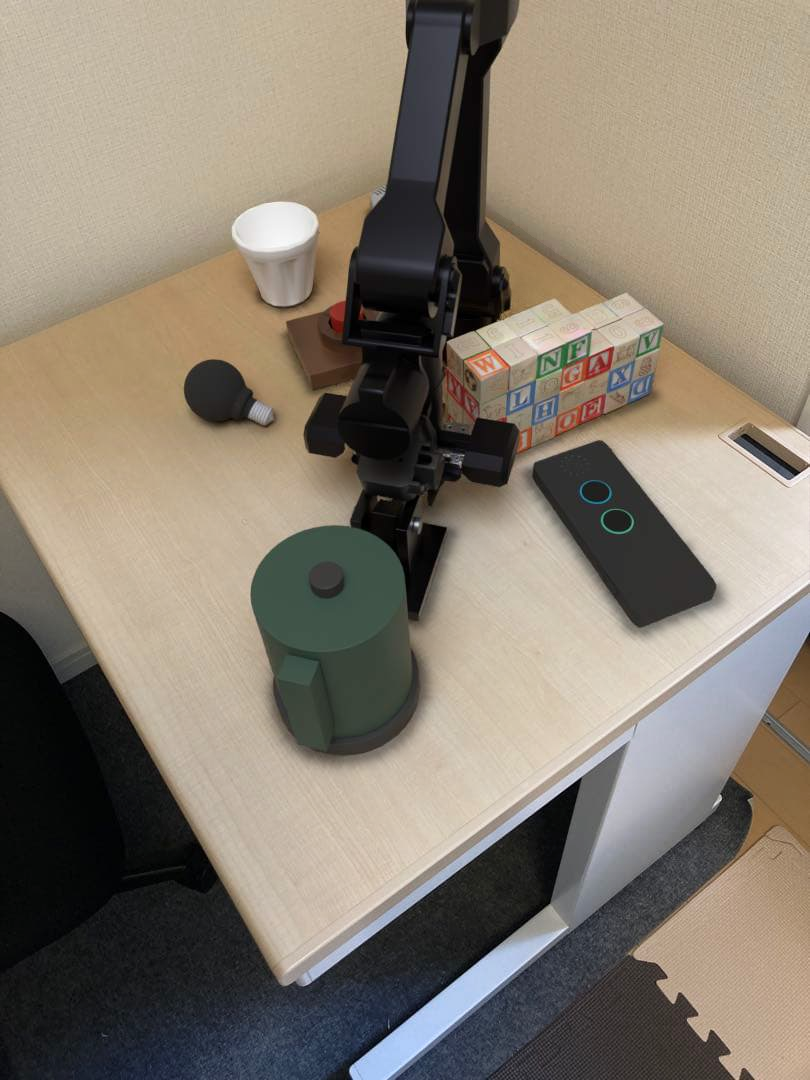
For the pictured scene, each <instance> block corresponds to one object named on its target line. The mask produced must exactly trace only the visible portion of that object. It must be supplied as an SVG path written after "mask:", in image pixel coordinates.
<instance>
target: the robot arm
mask: <svg viewBox="0 0 810 1080" xmlns="http://www.w3.org/2000/svg"><path fill="white" fill-rule="evenodd" d="M520 1H521V0H405V30H404V32H405V34H404V35H405V44H406V49H407V55H406V62H405V66H404V67H405V69H404V74H403V81H402V86H401V93H400V98H399V99H400V100H399V107H398V112H397V119H396V124H395V131H394V136H393V137H394V138H393V144H392V151H391V155H390V156H391V157H390V163H389V169H388V175H387V181H386V184H387V185H386V184H385V185H386V190H385V194H384V195H383V197H382V198H381V199H380V200H379V201H378V203H377V204H376V205H375V206H374V207H373V208H372V210H371V209H370V211H369V212H368V213H367V214H366V215H365V216H364V219H363V223H362V228H361V233H360V236H359V241H358V245H357V246H355V247H354V248H353V249H352V252H351V255H350V259H349V265H348V274H347V275H348V276H347V283H346V284H347V285H346V294H345V301H346V304H345V314H344V324H343V335H342V346H348V347H356V348H361V350H362V363H361V365H360V368H359V370H358V372H357V375H356V377H355V379H353V382H352V384H351V386H350V389H349V390H348V393H347V395H344V394H338V393H331V392H324V393H323V394H321V395H320V396H319V397H318V399H317V401H316V403H315V405H314V407H313V409H312V411H311V413H310V415H309V416H308V419H307V421H306V422H305V425H304V427H303V433H302V434H303V435H302V436H303V442H304V447H305V450H306V451H307V453H308V454H311V455H318V456H322V457H329V458H334V459H337V458H338V457H340V456H341V455H343V454H344V453H345V450H346V446H347V447H348V448H349V449H350V450H352V451H353V453H352V455H351V456H350V457H351V458H350V461H351V463H352V464H353V465H355V466H357V467H356V475H357V477H358V480H359V482H360V484H361V486H362V490H363V489H364V491H365V492H366V493H367V494H369V495H372V496H378V497H382V498H386V499H391V500H392V499H397V500H399V501H404V502H407V501H411V500H413V499H414V498H415V497H416V495H421V497H425V495H426V505H427V506H426V507H428V508H432V507H433V505H434V503H435V500H436V499H437V495H438V494H439V492H440V490H441V488H442V486H443V485H444V484H445V483H446V482H448V483H457V482H459V481H460V480H461V478H462V476H463V477H465V478H466V479H467V480H468V481H469V482H470V483H473V484H479V485H484V486H489V487H496V488H502V487H504V486H507V485H508V483H509V481H510V476H511V474H512V469H513V466H514V463H515V460H516V456H517V454H518V453H517V450H518V446H519V439H520V430H519V429H518V427H517V426H516V424H514V423H508V422H502V421H496V420H490V419H484V418H478V417H477V418H476V421H475V424H474V427H473V430H472V426H471V425H468V424H462V423H456V422H448V421H446V422H445V423H444V416H445V413H446V403H445V402H444V395H443V394H444V393H443V392H444V391H443V389H444V385H443V384H444V383H443V382H444V380H445V378H446V367H447V366H448V365H447V342H448V341H449V340H452V339H454V338H457V337H459V336H462V335H464V334H467V333H469V332H472V331H474V332H475V331H476V330H478V329H481V328H483V327H486V326H488V325H491V324H493V323H495V322H498V321H500V320H501V318H502V315H503V314H504V313H506V312H507V311H510V310H511V307H512V288H511V284H510V273H509V272H508V270H507V268H506V267H505V266H503V265H501V242H500V240H499V239H498V237H497V235H496V234H495V233H494V231H493V229H492V227H491V226H490V224H489V223H488V221H487V220H486V218H487V217H486V214H487V213H486V210H487V187H488V186H487V185H488V184H487V182H488V181H487V180H488V156H489V155H488V154H489V127H490V126H489V125H490V100H491V99H490V97H491V70H492V69H491V68H492V65H493V64H494V63H495V61H496V59H497V58H498V56H499V54H500V52H501V51H502V49H503V46H504V44H505V42H506V40H507V38H508V36H509V34H510V32H511V29H512V27H513V26H514V23H515V21H516V19H517V16H518V13H519V9H520ZM362 305H363V307H364V309H366V310H371V311H379V312H380V313H379V315H378V316H377V318H376V320H375V321H372V320H364V319H361V320H359V316H360V311H361V306H362ZM443 364H444V366H443ZM471 430H472V433H471ZM470 433H471V435H470ZM516 453H517V454H516ZM426 491H427V492H426ZM425 492H426V493H425Z"/></svg>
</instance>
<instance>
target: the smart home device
mask: <svg viewBox="0 0 810 1080" xmlns="http://www.w3.org/2000/svg"><path fill="white" fill-rule="evenodd" d="M532 467H533V469H532V479H533V481H534V483H535V484H536V486H537V487H538V489H539V491H541V493H542V495H543V496H544V497H545V499H546V500H547V501H548V502H549V504H550V506H551V507H552V509H553V510H554V512H555V513H556V514H557V516H558V517H559V519H560V520H561V522H562V523H563V524H564V526H565V527H566V530H568V532H569V533H570V535H571V536H572V538H573V539H574V541H575V542H576V543H577V545H578V546H579V548H580V549H581V551H582V552H583V553H584V555H585V556H586V558H587V559H588V561H589V562H590V564H591V565H592V567H593V568H594V570H595V571H596V573H597V574H598V576H599V577H600V578H601V579H602V581H603V582H604V584H605V585H606V587H607V588H608V590H609V591H610V593H611V594H612V596H613V597H614V598H615V600H616V601H617V603H618V604H619V605H620V607H621V609H622V610H623V611H624V613H625V614H626V615H627V617H628V618H629V620H630V621H631V622H632V624H634V625H635V626H637V627H638V628H644V627H646V626H649V625H651V624H653V623H655V622H659V621H660V620H663V619H666V618H668V617H669V618H670V617H671V616H673V615H676V614H678V613H681V612H683V611H686V610H688V609H691V608H693V607H695V606H698V605H701V604H704V603H706V602H708V601H711V600H713V598H714V595H715V592H716V590H717V583H716V581H715V580H714V578H713V576H712V575H711V574H710V572H709V571H708V570H707V569H706V567H705V566H704V565H703V563H701V561H700V559H698V558H697V556H696V555H695V554H694V552H693V551H692V550H691V549H690V547H689V546H688V545H687V543H686V542H685V540H683V538H682V537H681V536H680V534H679V533H678V532H677V531H676V529H674V527H673V526H672V525H671V523H670V522H669V521H668V519H666V516H665V515H664V514H663V512H661V511H660V509H659V508H658V507H657V506H656V504H655V503H654V502H653V500H651V498H650V497H649V495H648V494H647V493H646V491H644V489H643V488H642V486H641V485H640V484H639V483H638V482H637V480H636V479H635V477H634V476H633V475H632V474H631V473H630V471H629V470H628V469H627V467H626V466H625V465H624V464H623V462H622V461H621V460H620V459H619V457H618V456H617V455H616V454H615V452H614V451H613V450H612V449H611V447H610V446H609V445H608V444H607V443H606V442H604V441H603V440H601V439H597V440H594V441H591V442H588V443H586V444H583V445H580V446H577V447H574V448H571V449H569V450H566V451H563V452H559V453H557V454H555V455H551V456H549V457H546V458H542V459H540V460H537V461H535V462H533V466H532Z"/></svg>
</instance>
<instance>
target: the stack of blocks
mask: <svg viewBox="0 0 810 1080" xmlns="http://www.w3.org/2000/svg"><path fill="white" fill-rule="evenodd" d="M664 326H665V324H664V322H662V321H661V320H659V318H658V317H656V316H655V315H654V314H653V313H652V312H650V311H649V310H648V309H647V308H645V307H644V306H643V305H641V303H639V302H638V301H637V300H636V299H635V298H634V297H632V296H631V295H630V294H628V293H627V292H624V293H621V294H620V295H617V296H615V297H612V298H610V299H607V300H605V301H604V302H599V303H596V304H594V305H592V306H589V307H587V308H584V309H582V310H580V311H578V312H575V313H572V312H570V310H568V309H567V308H566V307H565V306H564V305H563V304H562V303H561V302H560V301H559V300H558V299H556V298H552V299H549V300H546V301H544V302H542V303H539V304H536V305H535V306H532V307H530V308H529V309H525V310H523V311H520V312H518V313H516V314H514V315H511V316H508V317H506V318H504V319H503V320H502V319H500V320H497V322H495V323H493V324H491V325H488V326H486V327H483V328H481V329H478V330H476V331H475V332H474V331H472V332H469V333H467V334H464V335H462V336H459V337H457V338H454V339H452V340H449V341H448V342H447V365H448V366H447V367H446V366H445V379H446V383H445V384H446V391H447V392H446V393H447V394H446V396H447V422H456V423H462V424H468V425H471V426H472V430H473V427H474V424H475V421H476V418H477V417H478V418H484V419H490V420H496V421H502V422H508V423H514V424H516V426H517V427H518V429H519V430H520V439H519V446H518V450H517V453H516V455H517V454H519V453H523V452H524V451H526V450H528V449H530V448H533V447H536V446H538V445H540V444H543V443H545V442H547V441H549V440H552V439H553V438H555V437H556V436H558V435H560V434H563V433H565V432H567V431H570V430H572V429H573V428H576V427H578V426H579V425H581V424H583V423H586V422H589V421H591V420H593V419H595V418H598V417H600V416H602V415H605V414H608V413H610V412H613V411H614V410H617V409H619V408H621V407H623V406H626V405H628V404H630V403H633V402H635V401H637V400H640V399H641V398H644V397H646V396H649V395H650V394H651V391H652V386H653V383H654V378H655V372H656V370H657V365H658V361H659V356H660V352H661V348H660V346H661V342H662V337H663V332H664ZM472 430H471V433H472ZM471 433H470V435H471Z"/></svg>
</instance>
